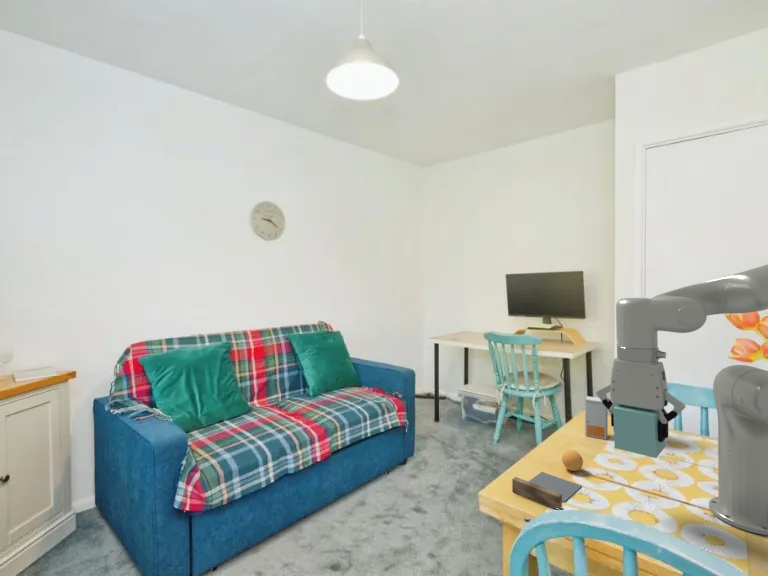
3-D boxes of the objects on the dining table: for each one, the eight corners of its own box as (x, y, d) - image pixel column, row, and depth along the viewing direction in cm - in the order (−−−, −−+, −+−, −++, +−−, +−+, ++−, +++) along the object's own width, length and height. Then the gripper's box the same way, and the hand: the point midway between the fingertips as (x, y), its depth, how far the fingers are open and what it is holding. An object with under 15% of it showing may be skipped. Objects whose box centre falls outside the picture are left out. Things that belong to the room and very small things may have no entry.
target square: (581, 486, 97) (581, 485, 97) (564, 502, 90) (564, 501, 90) (541, 472, 104) (541, 471, 104) (522, 486, 97) (522, 485, 97)
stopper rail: (562, 507, 88) (561, 494, 88) (558, 510, 87) (558, 496, 87) (515, 489, 96) (515, 476, 96) (512, 491, 95) (512, 479, 95)
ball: (586, 470, 105) (585, 451, 105) (578, 476, 102) (578, 457, 102) (566, 463, 109) (566, 445, 109) (558, 470, 105) (558, 451, 105)
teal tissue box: (665, 446, 87) (664, 406, 87) (656, 458, 82) (654, 415, 82) (625, 437, 93) (624, 399, 93) (614, 448, 88) (613, 408, 88)
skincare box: (585, 436, 128) (584, 398, 128) (587, 431, 132) (586, 395, 131) (606, 440, 125) (606, 401, 124) (608, 435, 128) (607, 398, 128)
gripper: (690, 356, 83) (692, 440, 83) (600, 348, 96) (601, 421, 96) (682, 362, 78) (684, 452, 78) (588, 352, 91) (590, 430, 91)
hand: (638, 434), depth 87 cm, fingers closed on teal tissue box, 7 cm apart
